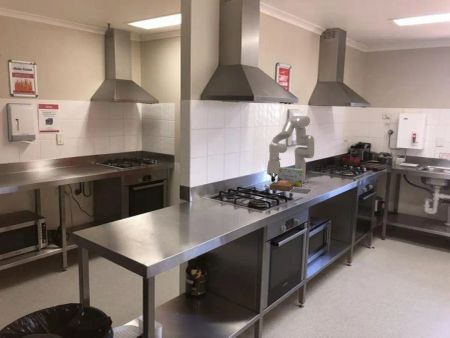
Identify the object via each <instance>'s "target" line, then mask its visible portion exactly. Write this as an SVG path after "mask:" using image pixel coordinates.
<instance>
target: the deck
mask: <svg viewBox="0 0 450 338" xmlns="http://www.w3.org/2000/svg"><path fill="white" fill-rule="evenodd" d="M293 189H294V187H293V184H291V183H288V184H287V185H278V182H277V181H274V182H271V183H270V184H269V190H270V191H278V192H279V191H281V192H290V191H292V190H293ZM290 193H291V192H290Z"/></svg>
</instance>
